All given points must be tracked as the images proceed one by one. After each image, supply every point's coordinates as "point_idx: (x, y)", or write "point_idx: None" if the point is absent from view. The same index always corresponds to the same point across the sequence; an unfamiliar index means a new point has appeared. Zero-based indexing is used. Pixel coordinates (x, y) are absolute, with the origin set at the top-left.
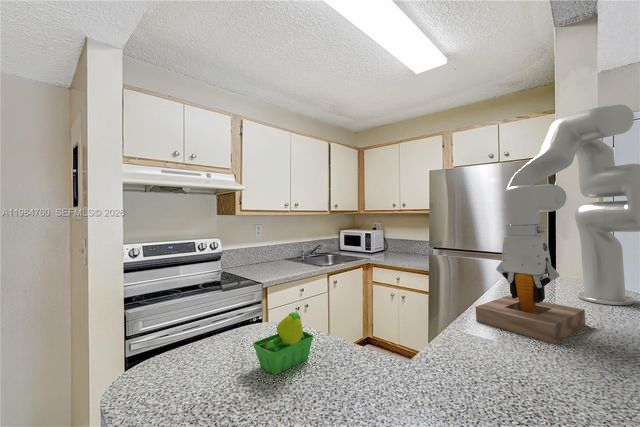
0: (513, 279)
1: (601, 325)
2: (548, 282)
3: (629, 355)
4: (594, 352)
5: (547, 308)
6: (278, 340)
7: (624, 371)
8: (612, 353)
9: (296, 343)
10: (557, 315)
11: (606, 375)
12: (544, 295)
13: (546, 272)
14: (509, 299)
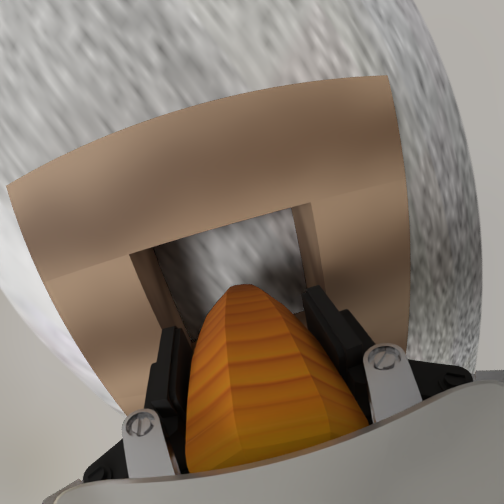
0: (179, 460)
1: (371, 43)
2: (434, 374)
3: (476, 245)
4: (440, 299)
5: (285, 208)
6: None
7: (473, 322)
8: (459, 268)
9: None
10: (377, 283)
11: (457, 357)
12: (353, 319)
13: (463, 394)
14: (74, 260)
